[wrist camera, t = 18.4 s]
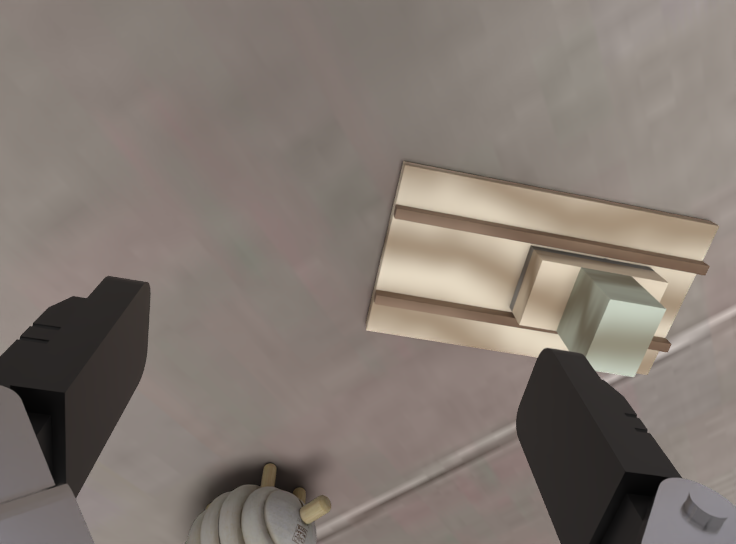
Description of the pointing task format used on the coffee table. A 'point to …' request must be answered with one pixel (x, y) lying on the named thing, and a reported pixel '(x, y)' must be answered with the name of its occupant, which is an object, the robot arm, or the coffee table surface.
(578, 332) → the block
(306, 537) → the toy sheep
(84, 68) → the coffee table surface
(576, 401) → the robot arm
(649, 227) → the birch plank
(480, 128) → the coffee table surface
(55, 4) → the coffee table surface
